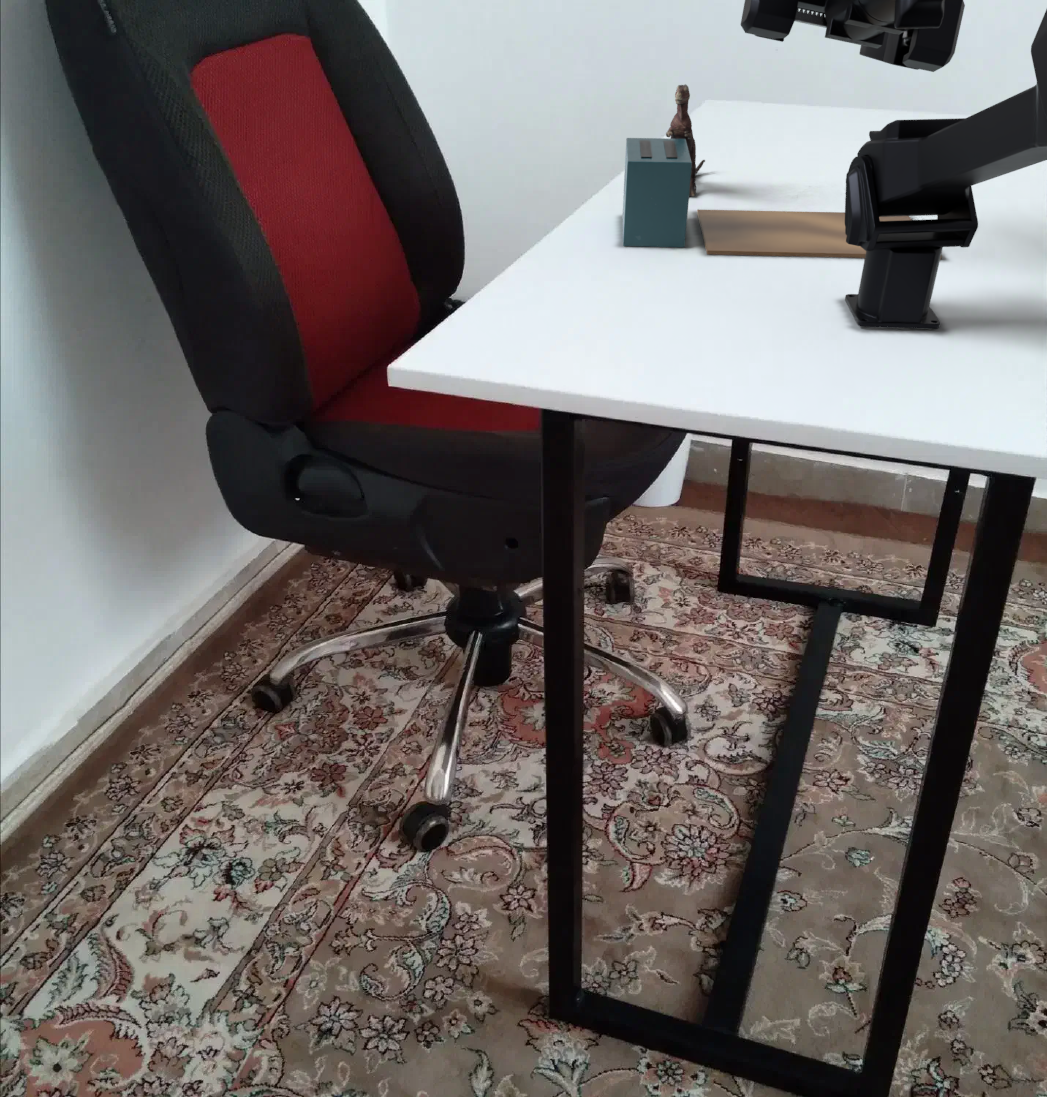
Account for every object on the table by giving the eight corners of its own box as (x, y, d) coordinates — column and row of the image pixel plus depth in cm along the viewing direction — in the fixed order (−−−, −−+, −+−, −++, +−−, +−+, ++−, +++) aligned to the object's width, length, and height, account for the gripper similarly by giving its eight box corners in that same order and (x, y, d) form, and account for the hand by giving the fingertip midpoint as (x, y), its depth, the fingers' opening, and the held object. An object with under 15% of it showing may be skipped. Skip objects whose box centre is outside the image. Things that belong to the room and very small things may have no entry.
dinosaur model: (668, 84, 108) (691, 70, 120) (653, 200, 114) (677, 175, 126) (706, 88, 107) (726, 74, 119) (689, 204, 113) (709, 179, 125)
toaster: (684, 247, 101) (692, 161, 96) (623, 246, 101) (627, 160, 97) (678, 214, 110) (685, 134, 105) (622, 213, 110) (626, 133, 106)
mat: (941, 259, 98) (941, 255, 97) (706, 254, 99) (707, 250, 99) (906, 217, 109) (906, 213, 109) (696, 213, 111) (697, 209, 110)
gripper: (1022, -102, 82) (927, -32, 97) (799, -154, 79) (738, -74, 95) (989, 47, 84) (901, 92, 99) (770, 0, 81) (715, 54, 97)
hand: (816, 39), depth 97 cm, fingers open, 9 cm apart
